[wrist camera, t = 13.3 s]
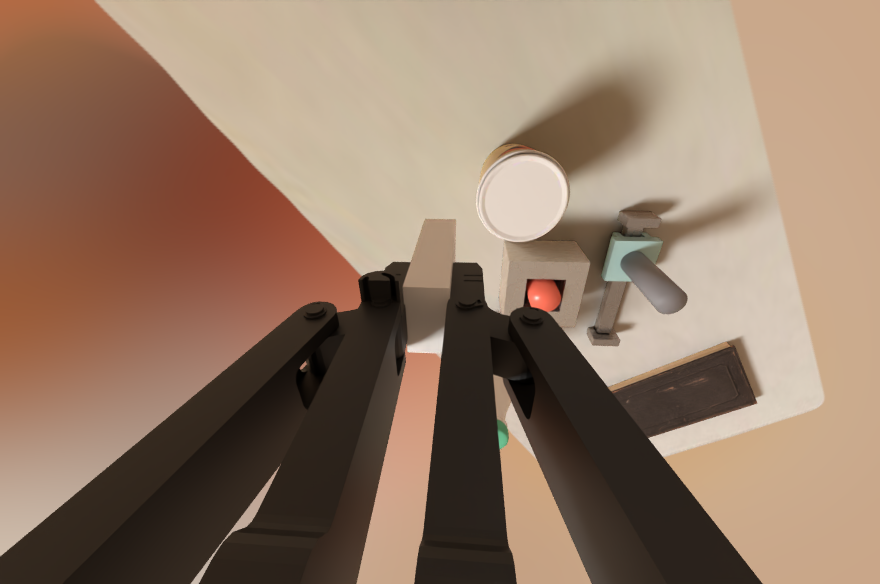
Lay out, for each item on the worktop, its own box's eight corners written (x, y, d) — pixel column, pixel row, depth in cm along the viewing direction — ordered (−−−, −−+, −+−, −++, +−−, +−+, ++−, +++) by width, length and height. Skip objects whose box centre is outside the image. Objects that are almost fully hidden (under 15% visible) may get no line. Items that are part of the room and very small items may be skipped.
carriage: (607, 232, 47) (651, 277, 35) (652, 232, 46) (711, 278, 35) (597, 270, 50) (635, 323, 39) (639, 271, 49) (689, 325, 38)
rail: (619, 211, 45) (628, 218, 43) (650, 211, 45) (661, 218, 42) (586, 333, 56) (592, 345, 53) (611, 334, 56) (618, 346, 53)
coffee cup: (561, 155, 42) (591, 177, 32) (523, 221, 47) (538, 257, 37) (495, 122, 41) (504, 133, 31) (462, 193, 46) (461, 223, 35)
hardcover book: (590, 389, 63) (594, 399, 61) (725, 337, 55) (734, 346, 53) (623, 436, 69) (627, 446, 67) (748, 395, 61) (758, 405, 59)
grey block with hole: (504, 239, 49) (509, 261, 43) (575, 241, 48) (590, 262, 42) (498, 298, 54) (502, 324, 48) (562, 300, 53) (574, 327, 47)
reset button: (524, 265, 48) (531, 286, 43) (553, 265, 48) (563, 286, 43) (521, 289, 50) (527, 311, 45) (548, 289, 50) (558, 312, 45)
